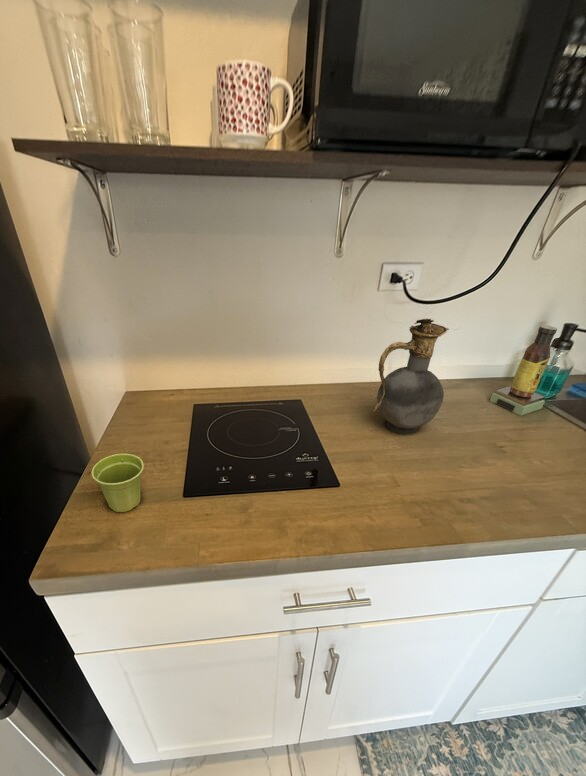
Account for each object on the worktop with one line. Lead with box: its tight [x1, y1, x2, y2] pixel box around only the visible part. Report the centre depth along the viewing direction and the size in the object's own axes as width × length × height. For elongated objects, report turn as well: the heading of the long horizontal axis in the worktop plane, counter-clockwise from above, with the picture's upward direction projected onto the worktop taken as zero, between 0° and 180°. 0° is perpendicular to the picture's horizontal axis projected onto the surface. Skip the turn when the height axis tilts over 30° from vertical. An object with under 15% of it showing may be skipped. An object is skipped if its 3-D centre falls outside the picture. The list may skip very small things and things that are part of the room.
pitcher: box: [372, 318, 450, 435], centre depth 96 cm, size 11×19×30 cm, turn 108°
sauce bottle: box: [510, 325, 558, 397], centre depth 110 cm, size 6×6×20 cm
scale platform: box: [494, 385, 545, 406], centre depth 116 cm, size 9×9×1 cm
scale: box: [489, 392, 546, 416], centre depth 117 cm, size 10×10×3 cm
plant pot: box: [91, 453, 145, 513], centre depth 76 cm, size 9×9×9 cm
